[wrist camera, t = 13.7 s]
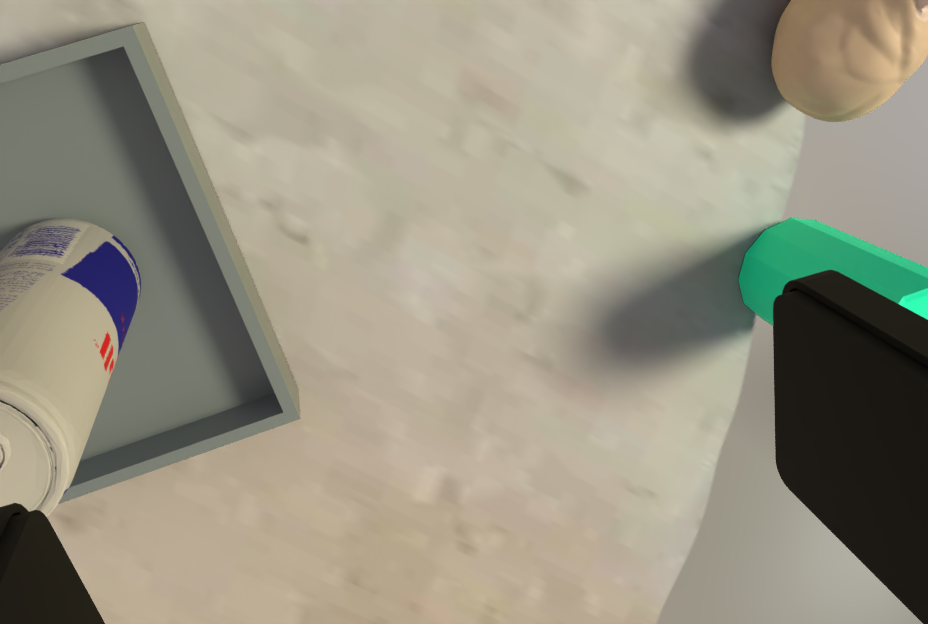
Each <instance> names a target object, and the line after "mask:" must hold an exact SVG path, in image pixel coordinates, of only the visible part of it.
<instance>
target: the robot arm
mask: <svg viewBox="0 0 928 624" xmlns="http://www.w3.org/2000/svg"><path fill="white" fill-rule="evenodd" d="M773 335H774V385H775V386H774V387H775V388H774V391H775V440H776V441H775V444H776V445H775V446H776V465H777V469H778V472H779V474H780V476H781V479H782V480H783V482H784V484H785V485H786V486H787V487H788V488H789V490H790V491H791V492H793V493H794V495H796V497H797V498H798V499H799V500H800V501H801V502H802V503H803V504H805V506H806V507H808V509H809V510H811V512H812V513H814V515H816V517H817V518H818V519H819V520H820V521H821V522H822V523H823V524H824V525H825V526H826V527H827V528H828V529H829V530H831V532H832V533H833V534H834V535H836V537H837V538H838V539H839V540H840V541H841V542H842V543H843V544H845V546H846V547H847V548H848V549H849V550H850V551H851V552H852V553H853V554H854V555H855V556H856V557H857V558H858V559H859V560H860V561H861V562H862V563H863V564H864V565H865V566H866V567H867V568H868V569H869V570H870V571H871V572H872V573H873V574H874V575H875V576H876V577H877V578H878V579H879V580H880V581H881V582H882V583H883V584H884V585H885V586H886V587H887V588H888V589H889V590H890V591H891V592H892V593H893V594H894V595H895V596H896V597H897V598H898V599H899V600H900V601H901V602H902V603H903V604H904V605H905V606H906V607H907V608H908V609H909V610H910V611H911V612H912V613H913V614H914V615H915V616H916V617H917V618H918V619H919V620H920V621H921V622H922V623H923V624H928V320H927V319H925V318H924V317H922V316H920V315H918V314H916V313H914V312H912V311H911V310H909V309H907V308H905V307H903V306H901V305H899V304H897V303H896V302H894V301H892V300H890V299H888V298H886V297H884V296H883V295H881V294H879V293H877V292H875V291H873V290H871V289H869V288H868V287H866V286H864V285H862V284H860V283H858V282H856V281H855V280H853V279H851V278H849V277H847V276H845V275H843V274H841V273H840V272H838V271H834V270H826V271H823V272H819V273H816V274H812V275H809V276H805V277H802V278H798V279H795V280H791V281H789V282H788V283H786V284H785V286H784V288H783V291H782V295H778V296H777V297H776V298H775V301H774V303H773ZM0 624H105V623H104V621H103V619H102V617H101V615H100V614H99V612H98V610H97V608H96V606H95V605H94V603H93V601H92V599H91V597H90V595H89V594H88V592H87V590H86V588H85V586H84V584H83V583H82V581H81V579H80V577H79V575H78V573H77V572H76V570H75V568H74V566H73V564H72V562H71V561H70V559H69V557H68V555H67V553H66V551H65V550H64V548H63V546H62V544H61V542H60V540H59V539H58V537H57V535H56V533H55V531H54V529H53V528H52V526H51V524H50V522H49V520H48V519H47V517H46V516H45V514H44V513H42V512H41V511H40V510H33V511H30V512H29V511H28V510H27V509H26V508H25V507H24V506H23V505H21V504H18V503H13V504H9V505H6V506H2V507H0Z"/></svg>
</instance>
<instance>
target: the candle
mask: <svg viewBox="0 0 928 624" xmlns="http://www.w3.org/2000/svg"><path fill="white" fill-rule="evenodd" d="M826 270H834V271H838V272H840V273H841V274H843V275H845V276H847V277H849V278H851V279H853V280H855V281H856V282H858V283H860V284H862V285H864V286H866V287H868V288H869V289H871V290H873V291H875V292H877V293H879V294H881V295H883V296H884V297H886V298H888V299H890V300H892V301H894V302H896V303H897V304H899V305H901V306H903V307H905V308H907V309H909V310H911V311H912V312H914V313H916V314H918V315H920V316H922V317H924V318H925V319H927V320H928V268H927V267H924V266H922V265H919V264H917V263H915V262H913V261H910V260H908V259H906V258H903V257H901V256H898V255H896V254H894V253H891V252H889V251H887V250H884V249H882V248H879V247H877V246H875V245H873V244H870V243H868V242H865V241H863V240H860V239H858V238H856V237H854V236H851V235H849V234H846V233H844V232H842V231H840V230H837V229H835V228H832V227H830V226H828V225H825V224H823V223H821V222H818V221H816V220H807V219H797V218H790V219H787V220H785V221H783V222H781V223H779V224H777V225H774V226H772V227H770V228H768V229H766V230H765V231H764V232H763V233H762V234H761V235H760V237H759V238H758V239H757V240H756V241H755V242H754V244H753V245H752V246H751V247H750V248H749V250H748V251H747V252H746V254H745V257H744V261H743V264H742V268H741V272H740V275H739V279H738V281H739V285H740V289H741V293H742V298H743V302H744V304H745V305H746V306H747V307H749V308H750V309H751V310H752V311H754V312H755V313H756V314H757V315H758V316H760V317H761V318H762V319H764V320H765V321H767V322H768V323H770V324H771V325H773V303H774V301H775V298H776V297H777V296H778V295H782V291H783V288H784V286H785V284H786V283H788V282H789V281H791V280H795V279H798V278H802V277H805V276H809V275H812V274H816V273H819V272H823V271H826Z"/></svg>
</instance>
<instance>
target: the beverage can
mask: <svg viewBox="0 0 928 624" xmlns="http://www.w3.org/2000/svg"><path fill="white" fill-rule="evenodd" d="M140 293H141V277H140V272H139V269H138V266H137V263H136V261H135V259H134V257H133V256H132V254H131V253H130V251H129V250H128V249H127V247H126V246H125V245H124V244H123V243H122V242H121V241H120V240H119V239H118V238H117V237H115V236H114V235H113V234H111V233H110V232H108V231H106V230H105V229H103V228H101V227H99V226H97V225H94V224H91V223H88V222H85V221H81V220H75V219H51V220H46V221H42V222H39V223H36V224H33V225H31V226H29V227H27V228H25V229H24V230H22V231H21V232H19V233H18V234H17V235H16V236H15V237H14V238H13V239H12V240H11V241H10V242H9V243H8V244H7V245H6V246H5V247H4V248H3V249H2V250H1V251H0V507H2V506H6V505H9V504H13V503H18V504H21V505H23V506H24V507H25V508H26V509H27V510H28V511H29V512H30V511H33V510H40V511H41V512H42V513H44V514H45V516H46V517H48V515H49V514H50V513H51V512H52V511H53V510H54V509H55V507H56V506H57V504H58V503H59V501H60V499H61V498H62V496H63V495H64V494H65V492H66V491H67V490H68V488H69V486H70V484H71V482H72V480H73V478H74V475H75V472H76V470H77V467H78V464H79V462H80V459H81V456H82V454H83V451H84V448H85V445H86V443H87V440H88V437H89V435H90V432H91V429H92V426H93V424H94V421H95V418H96V416H97V413H98V410H99V407H100V405H101V402H102V399H103V397H104V394H105V391H106V388H107V386H108V383H109V380H110V378H111V375H112V372H113V369H114V367H115V364H116V361H117V359H118V356H119V353H120V350H121V348H122V345H123V342H124V340H125V337H126V334H127V331H128V329H129V326H130V323H131V321H132V318H133V315H134V312H135V310H136V307H137V304H138V302H139V298H140Z"/></svg>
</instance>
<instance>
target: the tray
mask: <svg viewBox="0 0 928 624" xmlns="http://www.w3.org/2000/svg"><path fill="white" fill-rule="evenodd" d="M51 219H75V220H81V221H85V222H88V223H91V224H94V225H97V226H99V227H101V228H103V229H105V230H106V231H108V232H110V233H111V234H113V235H114V236H115V237H117V238H118V239H119V240H120V241H121V242H122V243H123V244H124V245H125V246H126V247H127V249H128V250H129V251H130V253H131V254H132V256H133V257H134V259H135V261H136V263H137V266H138V269H139V272H140V277H141V293H140V298H139V302H138V304H137V307H136V310H135V312H134V315H133V318H132V321H131V323H130V326H129V329H128V331H127V334H126V337H125V340H124V342H123V345H122V348H121V350H120V353H119V356H118V359H117V361H116V364H115V367H114V369H113V372H112V375H111V378H110V380H109V383H108V386H107V388H106V391H105V394H104V397H103V399H102V402H101V405H100V407H99V410H98V413H97V416H96V418H95V421H94V424H93V426H92V429H91V432H90V435H89V437H88V440H87V443H86V445H85V448H84V451H83V454H82V456H81V459H80V462H79V464H78V467H77V470H76V472H75V475H74V478H73V480H72V482H71V484H70V486H69V488H68V490H67V491H66V492H65V494H64V495H63V496H62V498H61V499H60V501H59V503H58V504H60V503H63V502H65V501H68V500H71V499H74V498H77V497H80V496H82V495H85V494H88V493H91V492H94V491H97V490H99V489H102V488H105V487H108V486H111V485H114V484H116V483H119V482H122V481H125V480H128V479H131V478H133V477H136V476H139V475H142V474H145V473H148V472H150V471H153V470H156V469H159V468H162V467H165V466H167V465H170V464H173V463H176V462H179V461H182V460H184V459H187V458H190V457H193V456H196V455H199V454H201V453H204V452H207V451H210V450H213V449H216V448H218V447H221V446H224V445H227V444H230V443H233V442H236V441H238V440H241V439H244V438H247V437H250V436H253V435H255V434H258V433H261V432H264V431H267V430H270V429H272V428H275V427H278V426H281V425H284V424H287V423H289V422H292V421H295V420H298V419H300V406H299V390H298V387H297V385H296V382H295V380H294V377H293V375H292V373H291V370H290V368H289V365H288V363H287V361H286V358H285V356H284V354H283V351H282V349H281V346H280V344H279V342H278V339H277V337H276V334H275V332H274V330H273V327H272V325H271V323H270V320H269V318H268V315H267V313H266V311H265V308H264V306H263V304H262V301H261V299H260V296H259V294H258V292H257V289H256V287H255V284H254V282H253V280H252V277H251V275H250V273H249V270H248V268H247V265H246V263H245V261H244V258H243V256H242V254H241V251H240V249H239V246H238V244H237V242H236V239H235V237H234V234H233V232H232V230H231V227H230V225H229V223H228V220H227V218H226V215H225V213H224V211H223V208H222V206H221V204H220V201H219V199H218V196H217V194H216V192H215V189H214V187H213V184H212V182H211V180H210V177H209V175H208V173H207V170H206V168H205V165H204V163H203V161H202V158H201V156H200V153H199V151H198V149H197V146H196V144H195V142H194V139H193V137H192V134H191V132H190V130H189V127H188V125H187V123H186V120H185V118H184V115H183V113H182V111H181V108H180V106H179V103H178V101H177V99H176V96H175V94H174V92H173V89H172V87H171V84H170V82H169V80H168V77H167V75H166V73H165V70H164V68H163V65H162V63H161V61H160V58H159V56H158V53H157V51H156V49H155V46H154V44H153V42H152V39H151V37H150V34H149V32H148V30H147V27H146V25H145V23H144V22H143V23H139V24H135V25H132V26H128V27H125V28H122V29H118V30H115V31H111V32H108V33H105V34H101V35H98V36H95V37H91V38H88V39H85V40H81V41H78V42H75V43H71V44H68V45H64V46H61V47H58V48H54V49H51V50H48V51H44V52H41V53H38V54H34V55H31V56H27V57H24V58H21V59H17V60H14V61H11V62H7V63H4V64H1V65H0V251H1V250H2V249H3V248H4V247H5V246H6V245H7V244H8V243H9V242H10V241H11V240H12V239H13V238H14V237H15V236H16V235H17V234H18V233H19V232H21V231H22V230H24V229H25V228H27V227H29V226H31V225H33V224H36V223H39V222H42V221H46V220H51Z"/></svg>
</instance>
